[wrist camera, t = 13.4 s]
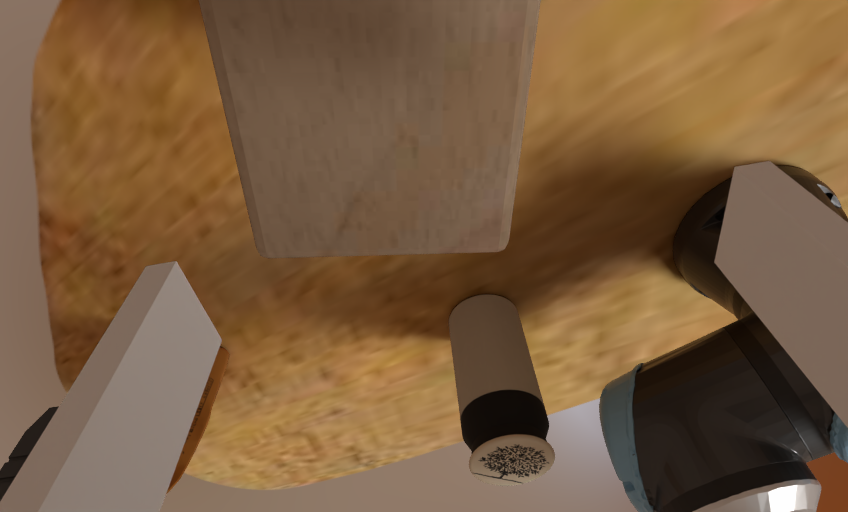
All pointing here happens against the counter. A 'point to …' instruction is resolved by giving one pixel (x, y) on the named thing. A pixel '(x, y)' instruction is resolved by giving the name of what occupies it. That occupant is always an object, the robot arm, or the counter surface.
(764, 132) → the counter surface
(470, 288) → the counter surface
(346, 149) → the wooden block
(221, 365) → the coffee package
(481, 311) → the travel mug
